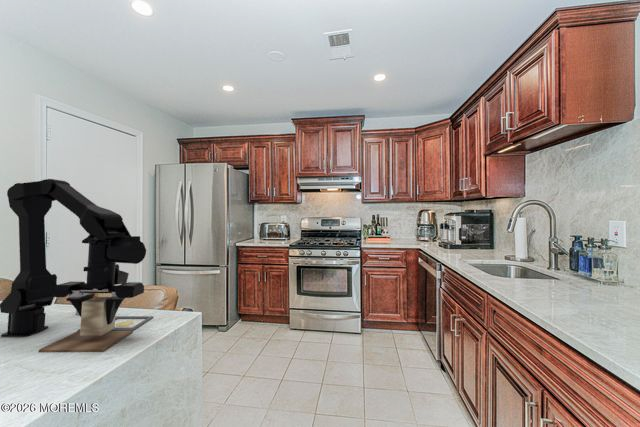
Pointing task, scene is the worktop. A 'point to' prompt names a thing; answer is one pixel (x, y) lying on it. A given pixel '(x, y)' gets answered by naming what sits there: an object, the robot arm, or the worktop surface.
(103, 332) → the beige wooden block
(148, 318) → the mat
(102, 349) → the board
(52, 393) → the worktop surface
